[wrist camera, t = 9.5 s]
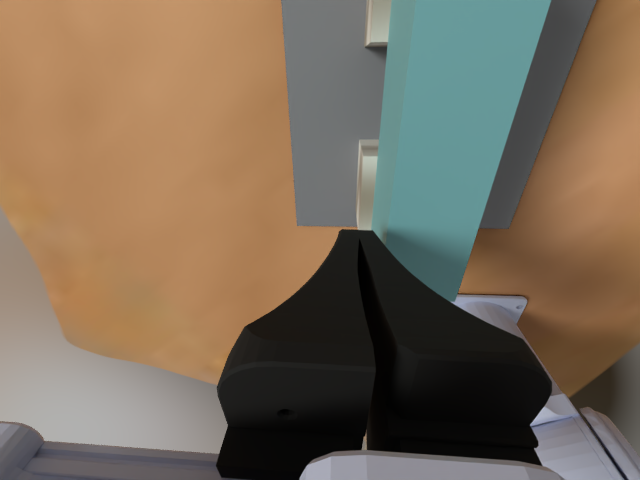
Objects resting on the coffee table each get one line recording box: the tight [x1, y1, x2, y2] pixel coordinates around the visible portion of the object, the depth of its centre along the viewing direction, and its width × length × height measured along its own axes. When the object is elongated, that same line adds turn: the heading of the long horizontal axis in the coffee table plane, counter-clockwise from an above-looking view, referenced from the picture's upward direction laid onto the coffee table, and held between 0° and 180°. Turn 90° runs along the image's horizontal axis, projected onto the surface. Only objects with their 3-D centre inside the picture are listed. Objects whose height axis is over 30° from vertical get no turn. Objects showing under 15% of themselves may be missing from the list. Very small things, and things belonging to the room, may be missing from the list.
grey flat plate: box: [281, 0, 596, 229], centre depth 17 cm, size 18×16×1 cm
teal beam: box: [371, 0, 551, 302], centre depth 11 cm, size 16×4×5 cm, turn 1°
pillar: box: [356, 140, 379, 230], centre depth 18 cm, size 5×5×4 cm
